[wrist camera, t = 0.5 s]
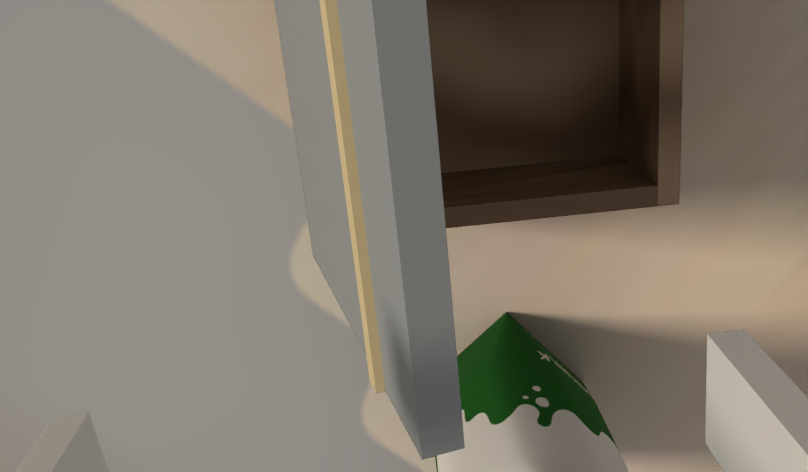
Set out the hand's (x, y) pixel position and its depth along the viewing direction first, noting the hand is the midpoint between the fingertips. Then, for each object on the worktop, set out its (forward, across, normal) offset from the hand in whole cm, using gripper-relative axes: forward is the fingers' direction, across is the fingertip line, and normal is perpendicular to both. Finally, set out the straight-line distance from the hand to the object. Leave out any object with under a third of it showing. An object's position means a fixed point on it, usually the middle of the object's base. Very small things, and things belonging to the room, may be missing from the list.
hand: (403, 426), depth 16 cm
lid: (+11, -1, +8) cm, 14 cm away
